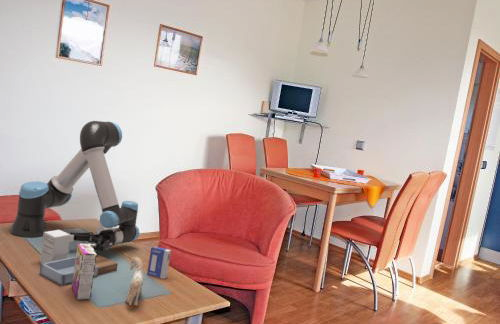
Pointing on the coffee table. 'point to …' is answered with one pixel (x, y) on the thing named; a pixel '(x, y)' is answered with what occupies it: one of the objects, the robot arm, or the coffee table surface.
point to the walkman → (159, 262)
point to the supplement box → (54, 246)
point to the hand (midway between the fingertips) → (70, 245)
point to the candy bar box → (84, 271)
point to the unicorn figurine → (135, 280)
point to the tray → (61, 270)
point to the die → (101, 229)
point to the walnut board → (105, 265)
